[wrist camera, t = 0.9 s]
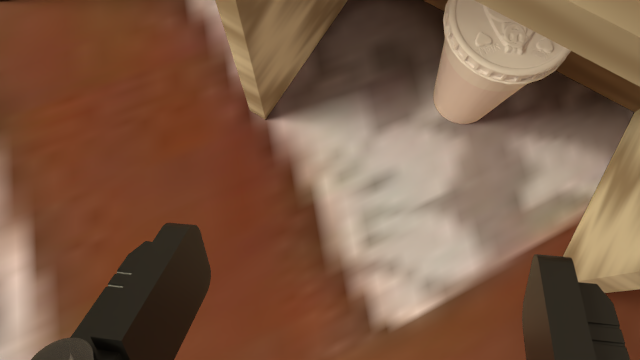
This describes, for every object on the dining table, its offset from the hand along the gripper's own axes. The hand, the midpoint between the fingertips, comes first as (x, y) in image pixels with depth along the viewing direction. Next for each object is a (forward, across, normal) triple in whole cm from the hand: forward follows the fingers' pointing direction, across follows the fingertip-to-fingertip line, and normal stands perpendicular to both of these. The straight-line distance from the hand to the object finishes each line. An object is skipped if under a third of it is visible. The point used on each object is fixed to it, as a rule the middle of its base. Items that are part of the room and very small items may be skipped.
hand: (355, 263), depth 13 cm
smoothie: (+23, -3, +8) cm, 25 cm away
